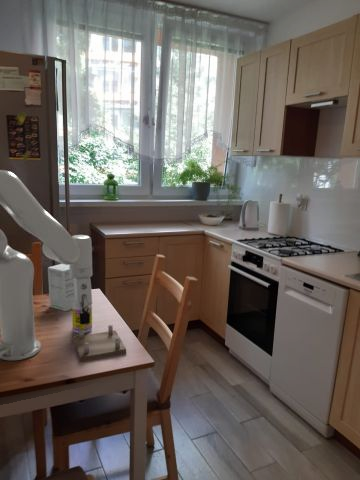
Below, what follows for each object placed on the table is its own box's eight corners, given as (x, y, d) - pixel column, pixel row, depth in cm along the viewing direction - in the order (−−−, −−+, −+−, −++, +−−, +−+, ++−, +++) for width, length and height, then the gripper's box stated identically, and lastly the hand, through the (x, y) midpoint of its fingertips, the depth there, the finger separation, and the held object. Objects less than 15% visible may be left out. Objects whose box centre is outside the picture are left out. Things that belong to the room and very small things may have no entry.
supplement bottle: (72, 335, 126) (71, 299, 124) (72, 326, 133) (71, 293, 130) (92, 333, 128) (92, 298, 126) (91, 325, 135) (91, 291, 132)
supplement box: (82, 304, 153) (81, 265, 150) (65, 312, 146) (64, 271, 142) (66, 300, 158) (64, 262, 155) (48, 306, 150) (47, 267, 147)
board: (126, 353, 115) (126, 340, 114) (80, 361, 110) (80, 347, 109) (115, 334, 128) (115, 322, 127) (73, 341, 122) (73, 328, 121)
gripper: (97, 277, 120) (98, 326, 123) (87, 263, 135) (89, 307, 139) (73, 279, 117) (75, 329, 121) (66, 265, 132) (68, 310, 136)
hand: (82, 317), depth 130 cm, fingers open, 9 cm apart
